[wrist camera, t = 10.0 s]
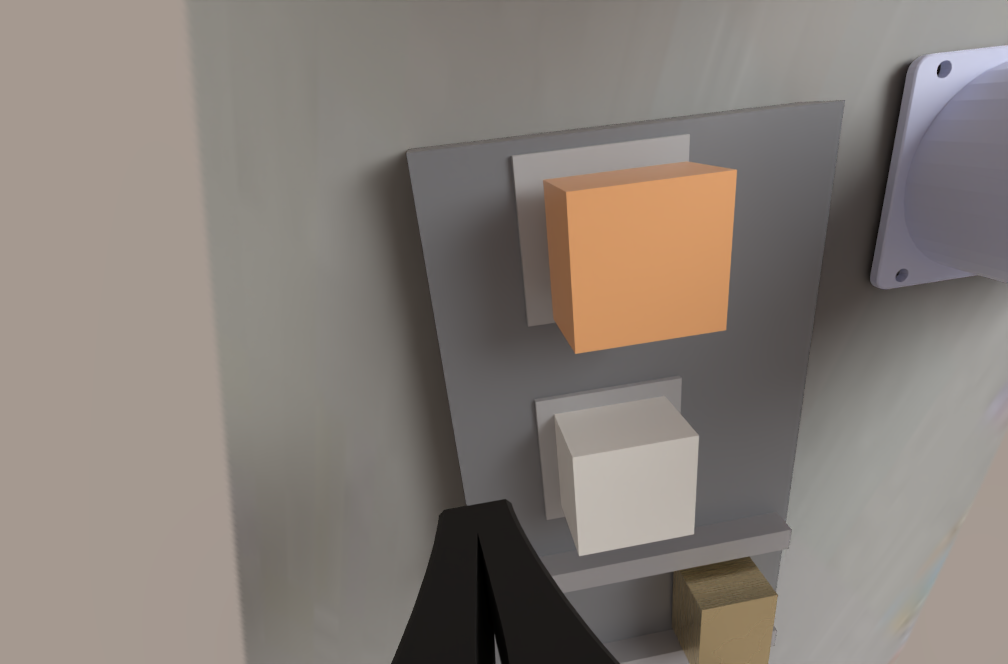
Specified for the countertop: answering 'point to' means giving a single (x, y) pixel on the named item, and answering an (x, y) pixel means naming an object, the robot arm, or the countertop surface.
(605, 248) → the orange button
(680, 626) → the wood grain block
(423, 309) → the countertop surface
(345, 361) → the countertop surface
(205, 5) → the countertop surface
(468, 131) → the countertop surface
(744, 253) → the grey ridged tray
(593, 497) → the off-white button
